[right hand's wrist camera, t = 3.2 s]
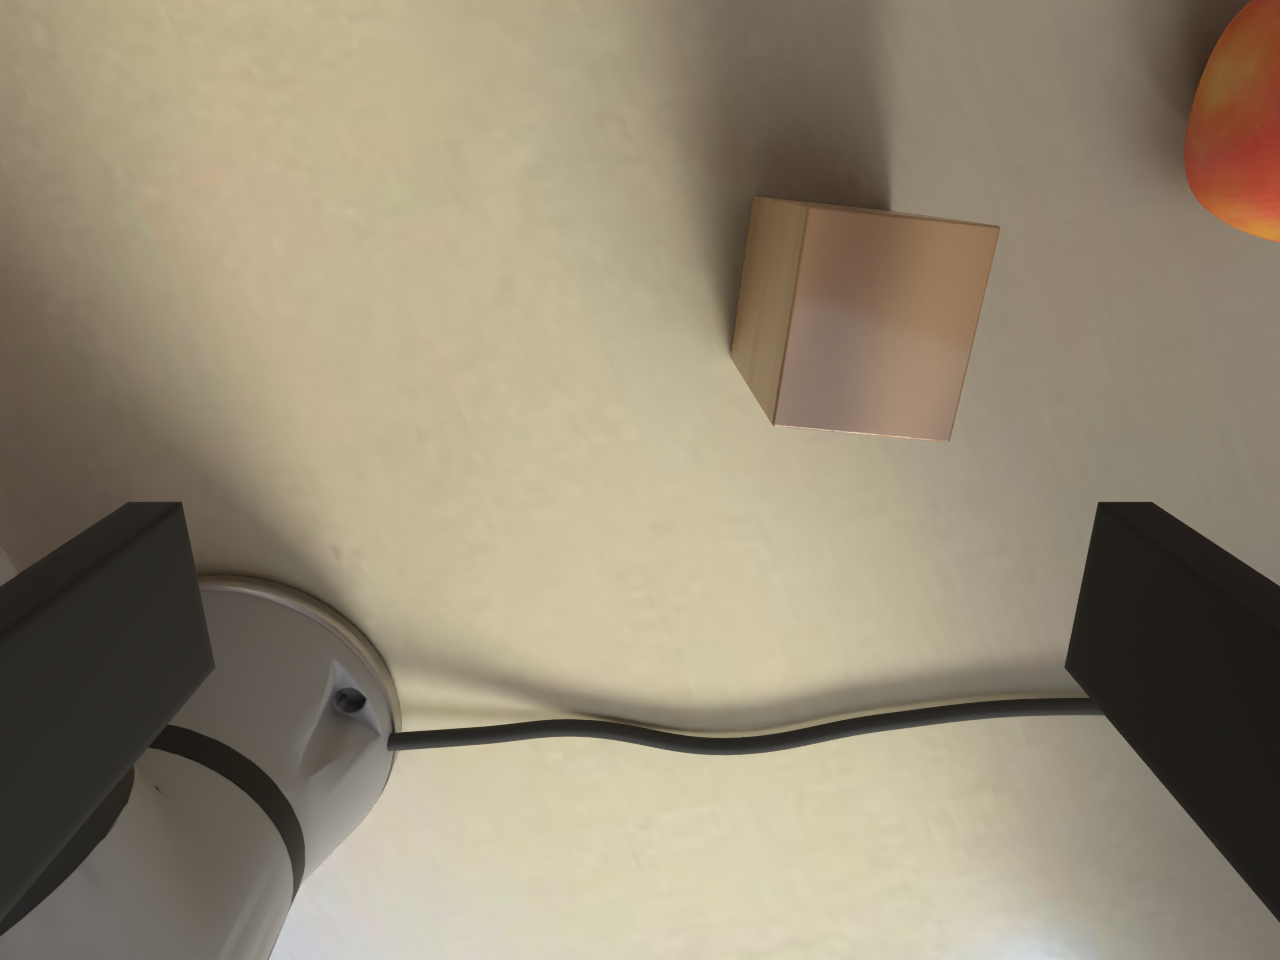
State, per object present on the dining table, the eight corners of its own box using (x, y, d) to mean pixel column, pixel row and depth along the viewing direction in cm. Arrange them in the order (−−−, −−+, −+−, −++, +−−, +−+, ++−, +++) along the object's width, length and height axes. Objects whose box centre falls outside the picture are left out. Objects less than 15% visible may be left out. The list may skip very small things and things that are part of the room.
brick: (892, 211, 34) (1002, 226, 25) (861, 371, 37) (950, 443, 27) (753, 195, 34) (808, 205, 24) (729, 358, 36) (772, 426, 27)
